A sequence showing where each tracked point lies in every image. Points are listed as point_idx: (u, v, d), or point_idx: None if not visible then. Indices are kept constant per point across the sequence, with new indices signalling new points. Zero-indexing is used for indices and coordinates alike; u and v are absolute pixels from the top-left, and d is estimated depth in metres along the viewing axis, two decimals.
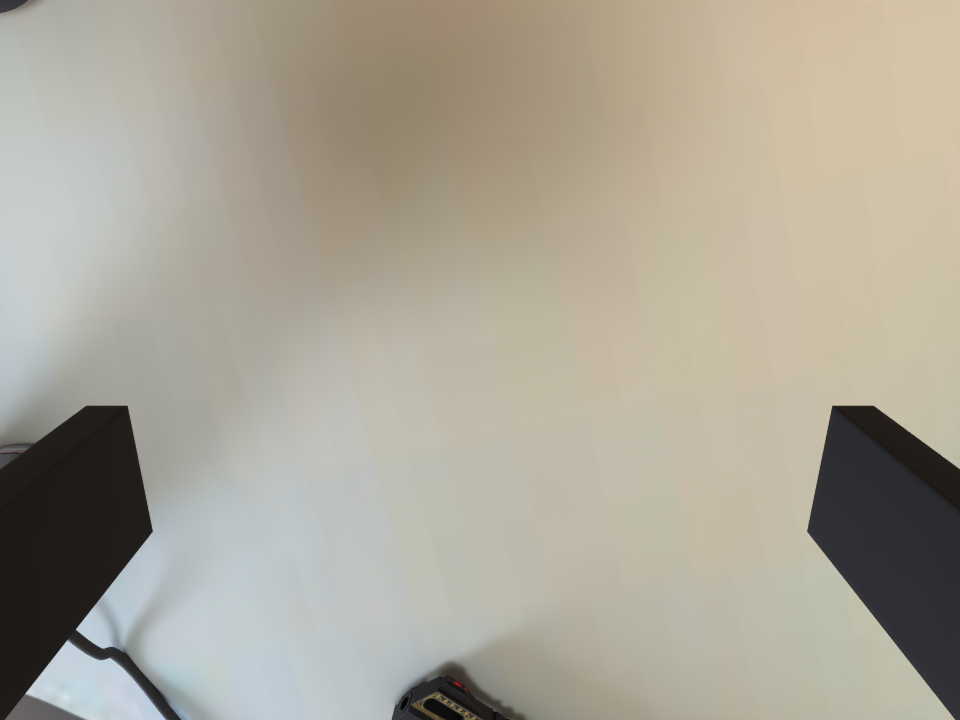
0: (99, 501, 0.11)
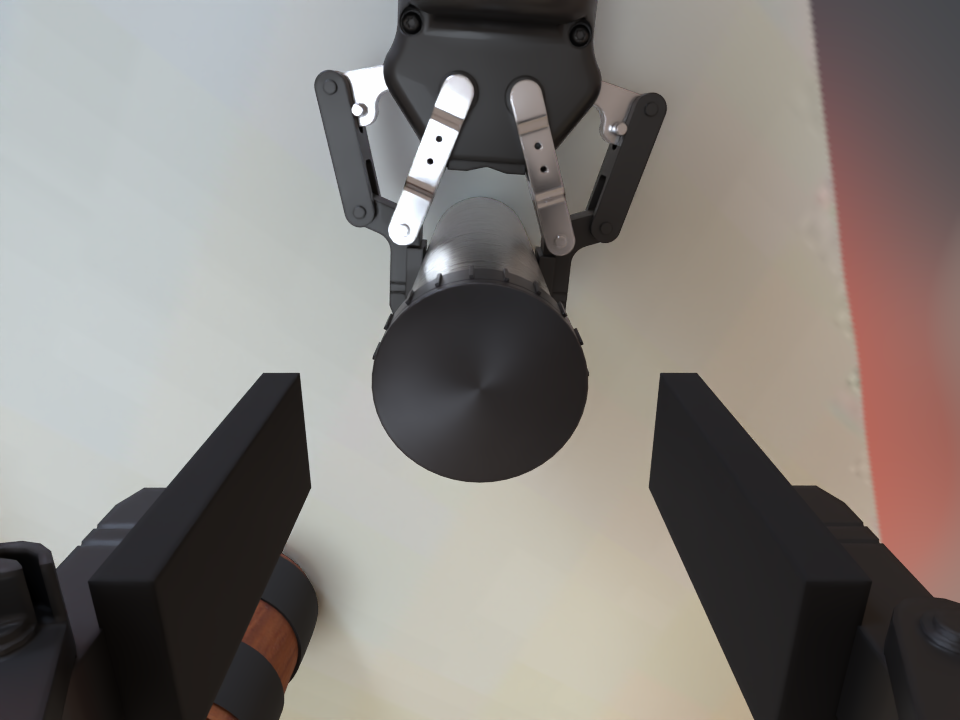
0: (286, 454, 0.13)
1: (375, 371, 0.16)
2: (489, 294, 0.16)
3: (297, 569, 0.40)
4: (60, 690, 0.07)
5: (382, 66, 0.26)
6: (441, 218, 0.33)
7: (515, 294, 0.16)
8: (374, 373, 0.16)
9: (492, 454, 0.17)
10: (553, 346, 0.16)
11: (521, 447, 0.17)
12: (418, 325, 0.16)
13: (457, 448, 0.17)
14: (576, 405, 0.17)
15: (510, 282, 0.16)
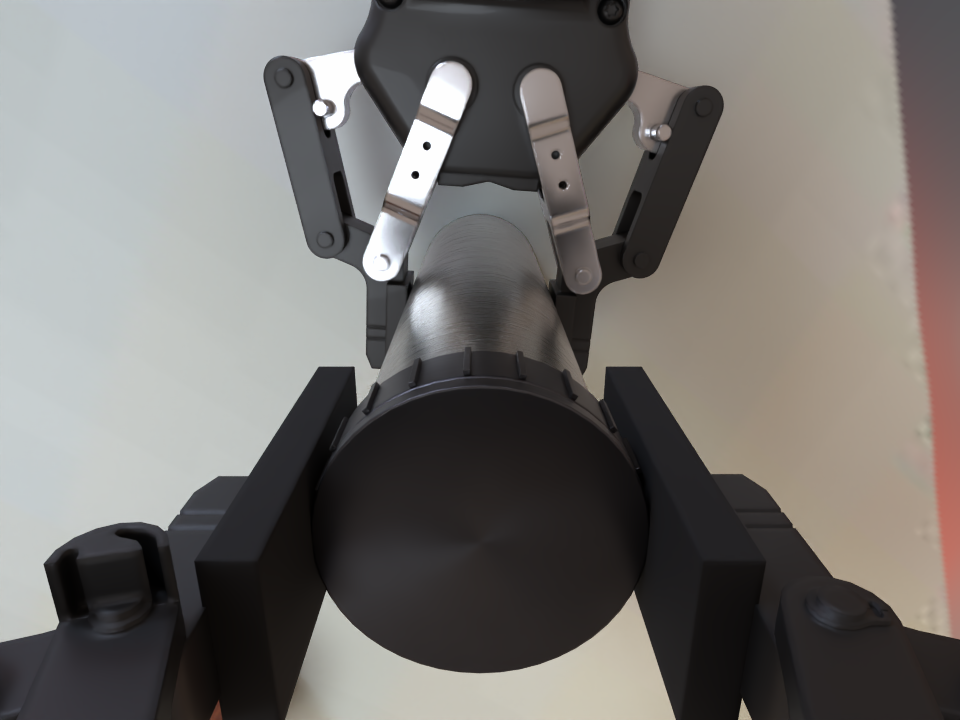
0: None
1: (315, 518, 0.10)
2: (495, 404, 0.10)
3: None
4: (173, 669, 0.07)
5: (353, 51, 0.20)
6: (433, 240, 0.27)
7: (537, 404, 0.10)
8: (313, 521, 0.10)
9: (499, 635, 0.11)
10: (597, 481, 0.10)
11: (544, 625, 0.11)
12: (381, 450, 0.10)
13: (445, 626, 0.11)
14: (630, 567, 0.11)
15: (528, 381, 0.10)
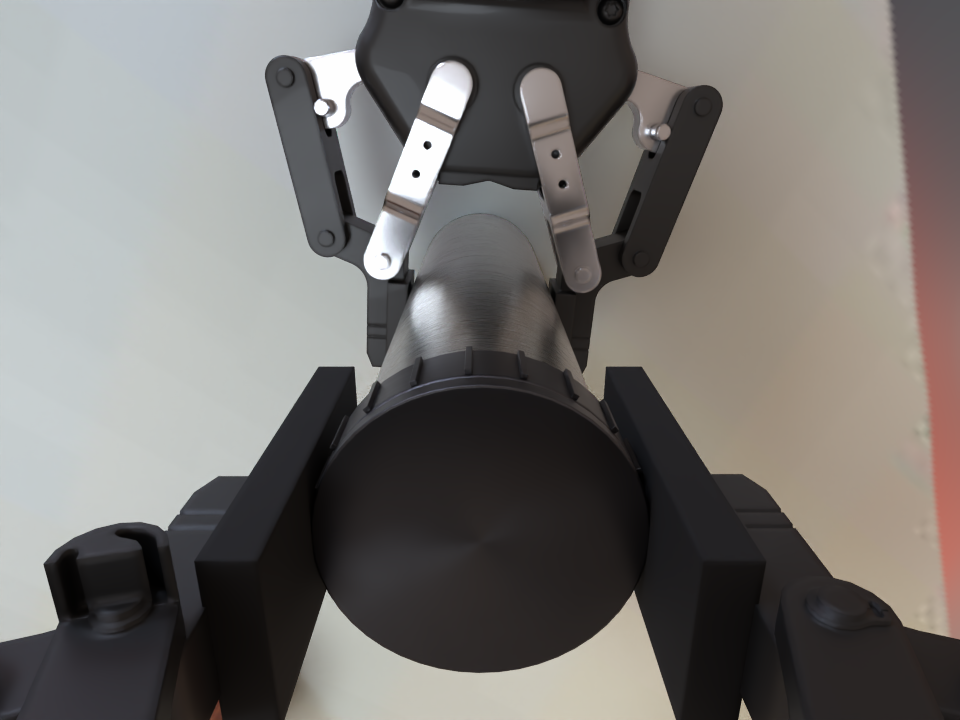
0: None
1: (452, 669, 0.11)
2: (328, 528, 0.10)
3: None
4: (173, 669, 0.07)
5: (354, 51, 0.20)
6: (433, 239, 0.27)
7: (325, 494, 0.10)
8: (455, 670, 0.11)
9: (598, 525, 0.10)
10: (407, 440, 0.10)
11: (588, 484, 0.10)
12: (381, 616, 0.11)
13: (583, 572, 0.11)
14: (512, 403, 0.10)
15: None
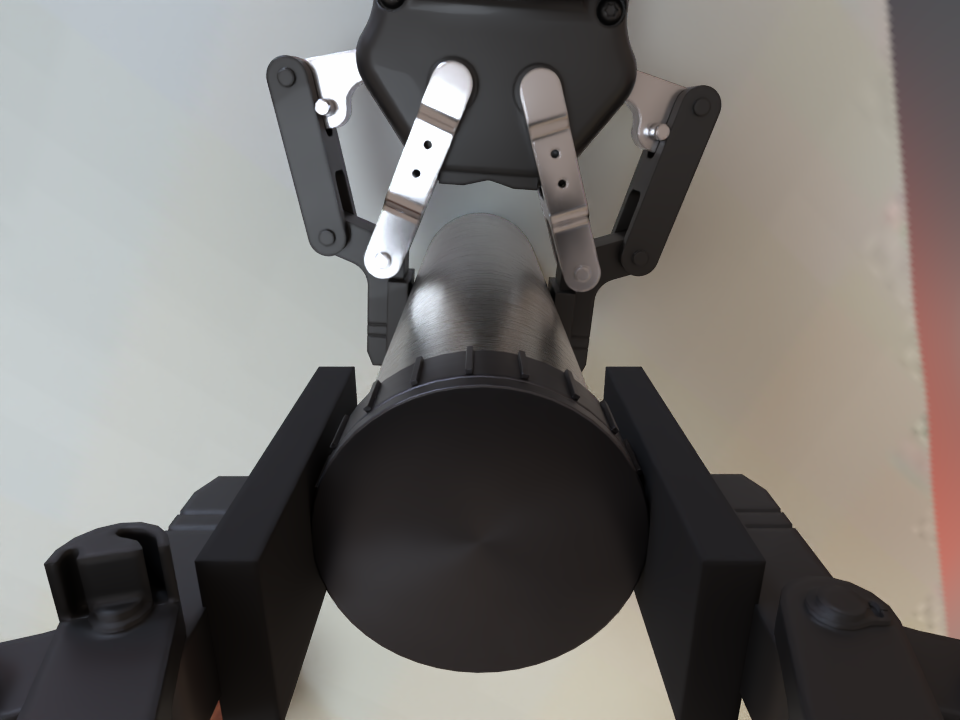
0: None
1: (639, 568, 0.11)
2: (465, 659, 0.11)
3: None
4: (173, 669, 0.07)
5: (355, 51, 0.20)
6: (433, 239, 0.27)
7: (429, 659, 0.11)
8: (641, 566, 0.11)
9: (460, 436, 0.10)
10: (370, 597, 0.11)
11: (410, 448, 0.10)
12: (567, 625, 0.11)
13: (520, 447, 0.10)
14: (325, 517, 0.10)
15: None
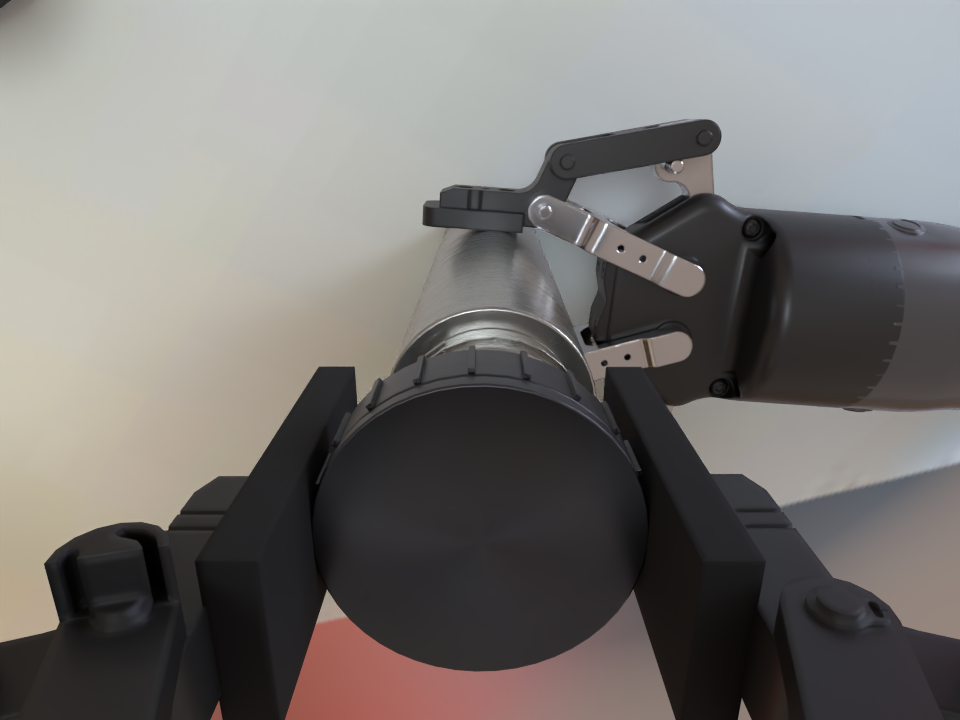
0: None
1: (316, 513, 0.10)
2: (499, 402, 0.10)
3: None
4: (174, 669, 0.07)
5: (712, 193, 0.24)
6: None
7: (541, 403, 0.10)
8: (314, 516, 0.10)
9: (496, 633, 0.11)
10: (598, 483, 0.10)
11: (541, 625, 0.11)
12: (384, 446, 0.10)
13: (443, 624, 0.11)
14: (629, 569, 0.11)
15: (533, 380, 0.10)
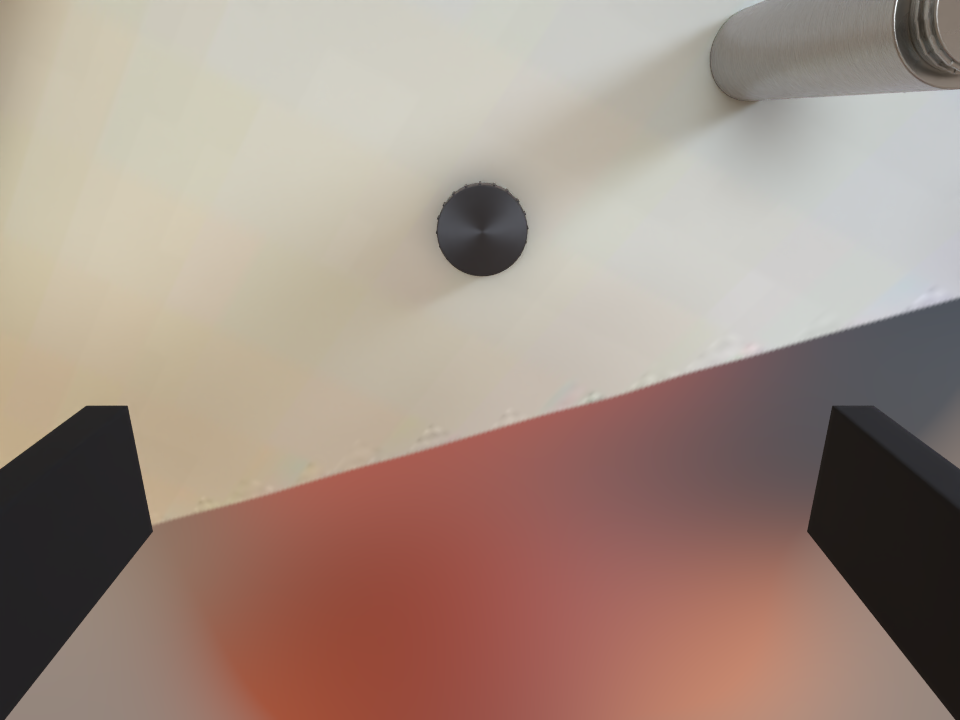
0: (99, 501, 0.11)
1: (439, 223, 0.39)
2: (487, 190, 0.38)
3: None
4: None
5: None
6: None
7: (497, 190, 0.38)
8: (438, 223, 0.39)
9: (486, 262, 0.40)
10: (512, 213, 0.39)
11: (499, 259, 0.40)
12: (457, 203, 0.39)
13: (471, 259, 0.40)
14: (522, 240, 0.39)
15: (495, 186, 0.39)
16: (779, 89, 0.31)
